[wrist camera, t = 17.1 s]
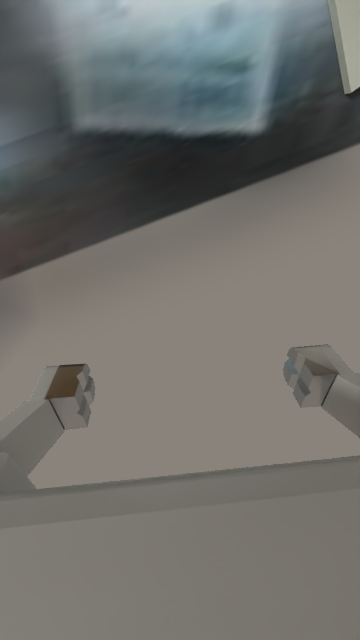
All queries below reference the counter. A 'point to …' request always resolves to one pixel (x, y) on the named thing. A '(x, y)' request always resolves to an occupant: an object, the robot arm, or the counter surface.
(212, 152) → the counter surface
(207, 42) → the counter surface
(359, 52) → the base plate
